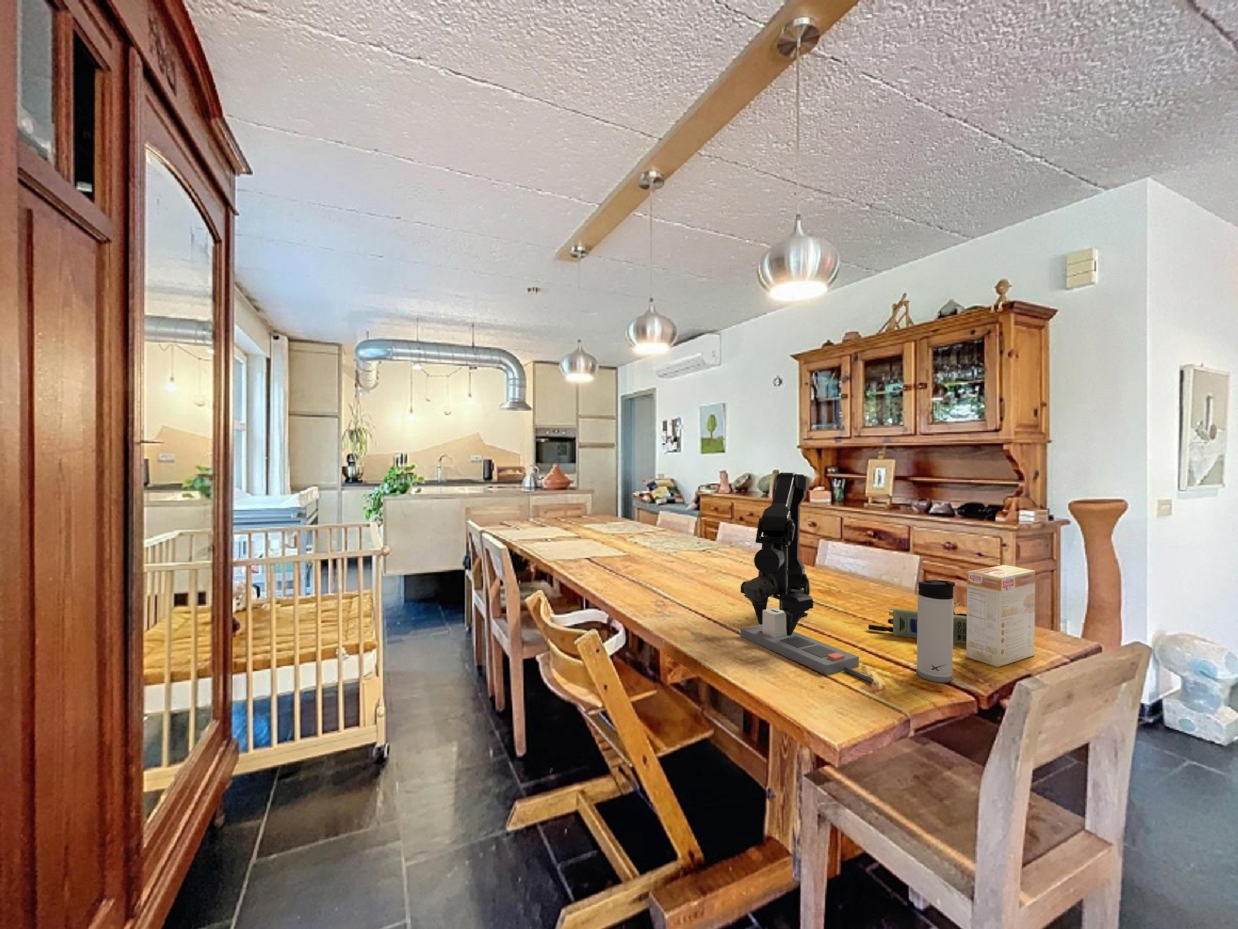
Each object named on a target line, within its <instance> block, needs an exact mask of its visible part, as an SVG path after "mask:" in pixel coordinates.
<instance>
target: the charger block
mask: <svg viewBox="0 0 1238 929" xmlns="http://www.w3.org/2000/svg"><path fill="white" fill-rule="evenodd" d="M762 633H763V634H766V635H768V636H771V637H773V638H778V637H783V636H787V631H786V614H785V612H784V611H782V610H779V608H777V607H776V608H775V607H772V608H766V610H763V629H762Z"/></svg>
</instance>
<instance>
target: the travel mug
mask: <svg viewBox="0 0 1238 929" xmlns="http://www.w3.org/2000/svg"><path fill="white" fill-rule="evenodd" d="M917 586H918V592H917V596H918V597H917V611H918V622H917V638H916V642H917V643H916V674H917V675H918V676H919V677H920V678H922V679H924V680H927V681H930V682H935V683H940V684H941V683H949V682H952V680H953V668H954V666H953V664H954V663H953V662H954V661H953V660H954V659H953V658H954V652H953V651H954V643H953V610H954V611H955V608H954V606H955V605H954V602H955V601H954V587H956V582H954V581H951V580H950V581H949V580H941V579H930V580H929V579H928V580H924V581H918V585H917Z"/></svg>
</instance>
